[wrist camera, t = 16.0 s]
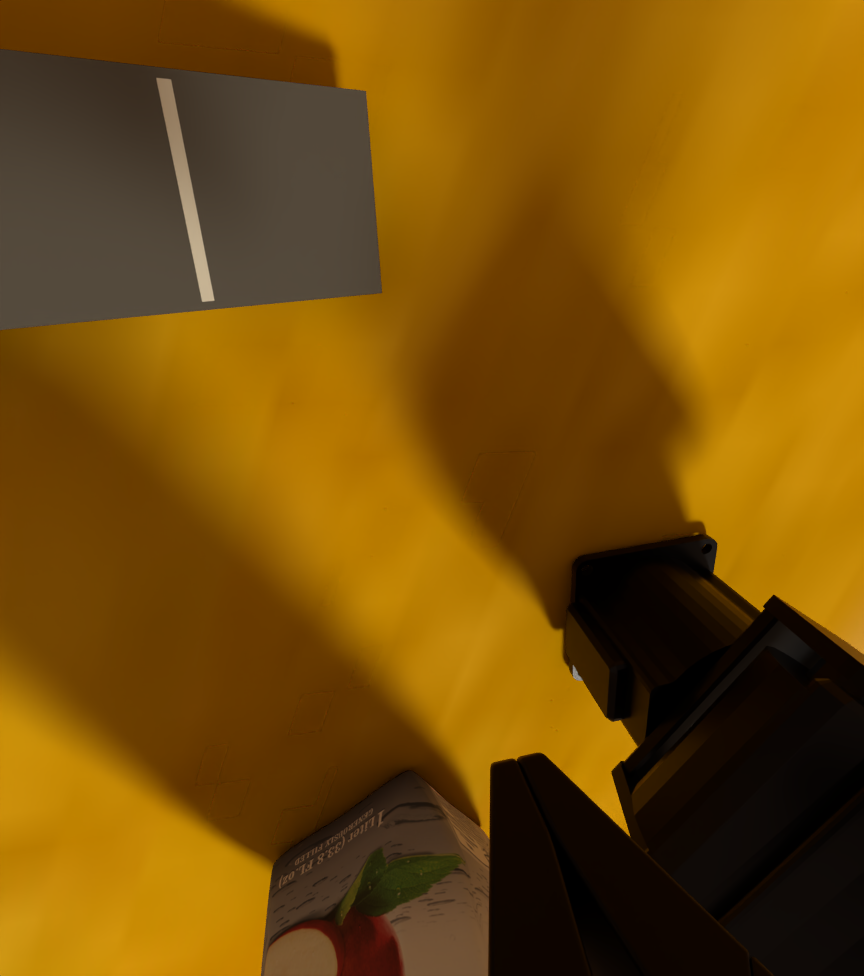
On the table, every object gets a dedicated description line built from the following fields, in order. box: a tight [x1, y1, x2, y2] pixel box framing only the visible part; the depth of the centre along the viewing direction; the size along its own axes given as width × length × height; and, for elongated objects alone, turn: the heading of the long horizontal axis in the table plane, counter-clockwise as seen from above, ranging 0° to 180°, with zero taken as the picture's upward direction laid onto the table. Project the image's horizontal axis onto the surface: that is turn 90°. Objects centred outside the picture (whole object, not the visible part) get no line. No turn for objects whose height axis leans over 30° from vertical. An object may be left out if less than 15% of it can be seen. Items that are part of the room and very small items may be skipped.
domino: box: [0, 49, 382, 330], centre depth 13 cm, size 2×5×10 cm
